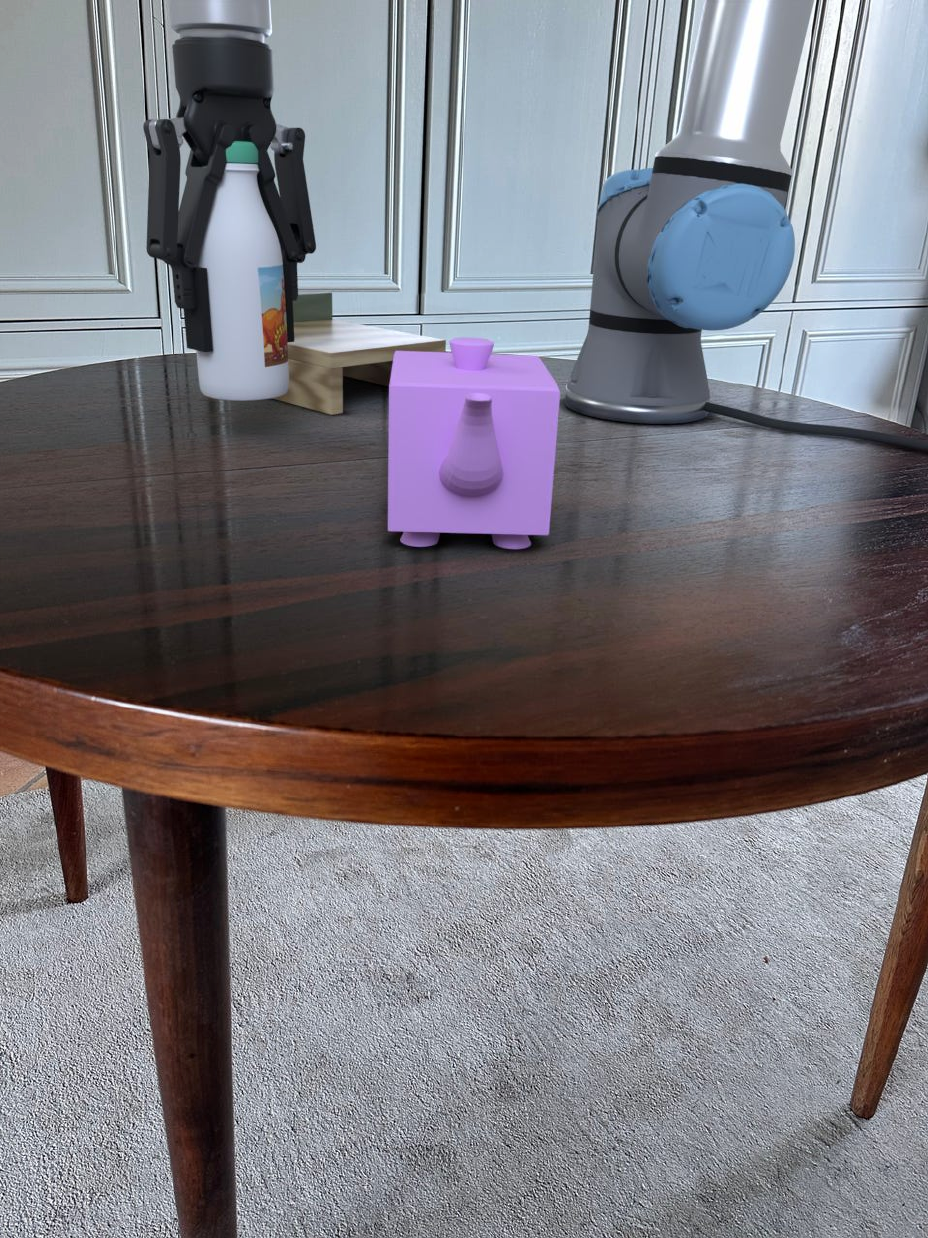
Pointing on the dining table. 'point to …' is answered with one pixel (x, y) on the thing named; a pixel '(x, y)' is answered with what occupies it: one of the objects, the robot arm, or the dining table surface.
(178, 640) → the dining table surface
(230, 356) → the milk bottle
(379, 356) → the shelf
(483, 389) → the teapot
